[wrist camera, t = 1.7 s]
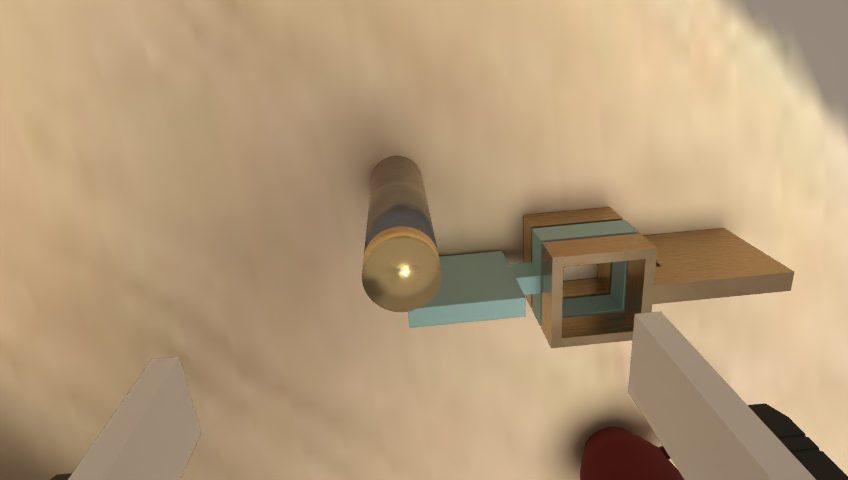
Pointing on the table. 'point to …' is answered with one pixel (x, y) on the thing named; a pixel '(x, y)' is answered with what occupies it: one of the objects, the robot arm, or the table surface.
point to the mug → (625, 458)
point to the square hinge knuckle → (642, 273)
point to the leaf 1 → (516, 282)
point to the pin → (400, 239)
